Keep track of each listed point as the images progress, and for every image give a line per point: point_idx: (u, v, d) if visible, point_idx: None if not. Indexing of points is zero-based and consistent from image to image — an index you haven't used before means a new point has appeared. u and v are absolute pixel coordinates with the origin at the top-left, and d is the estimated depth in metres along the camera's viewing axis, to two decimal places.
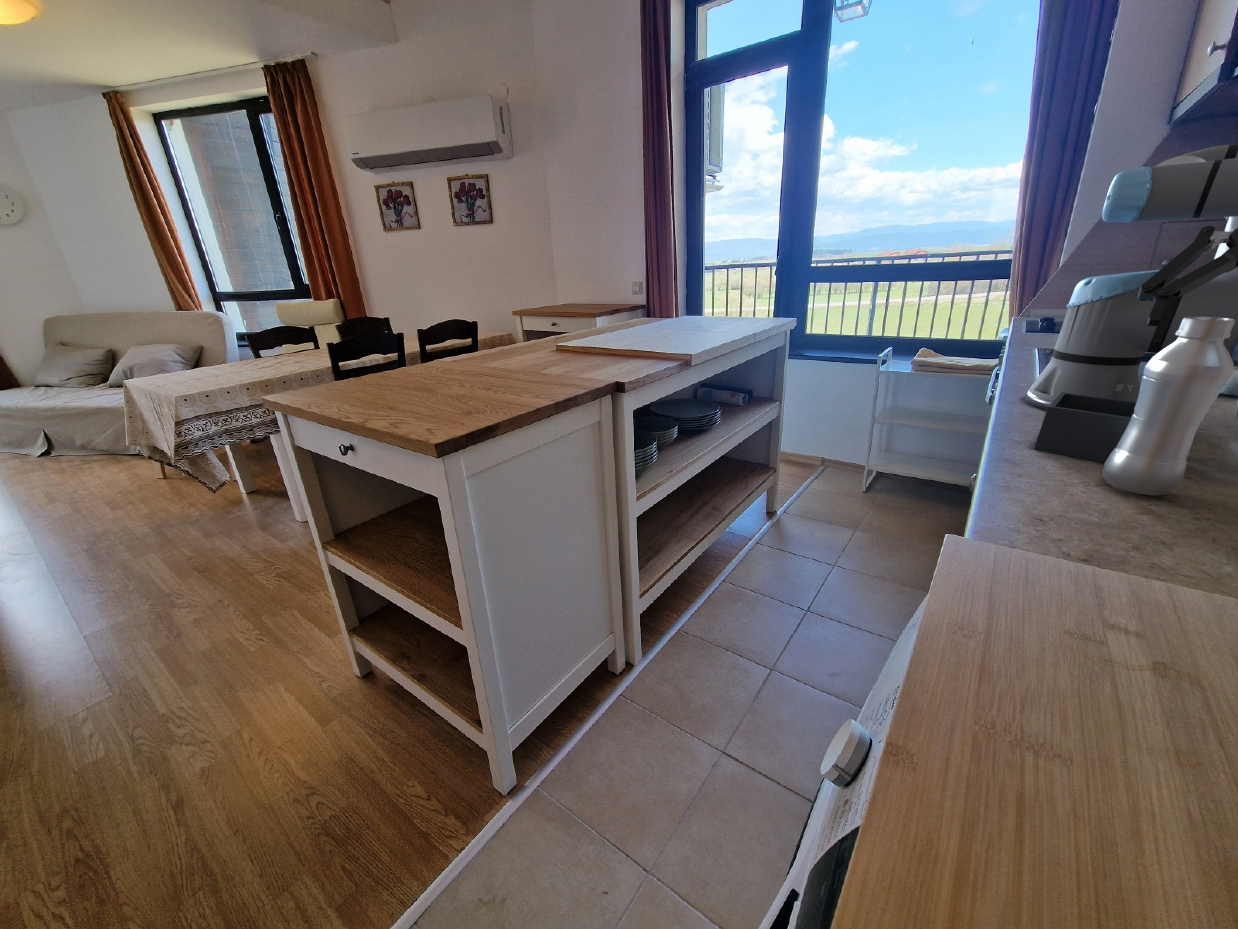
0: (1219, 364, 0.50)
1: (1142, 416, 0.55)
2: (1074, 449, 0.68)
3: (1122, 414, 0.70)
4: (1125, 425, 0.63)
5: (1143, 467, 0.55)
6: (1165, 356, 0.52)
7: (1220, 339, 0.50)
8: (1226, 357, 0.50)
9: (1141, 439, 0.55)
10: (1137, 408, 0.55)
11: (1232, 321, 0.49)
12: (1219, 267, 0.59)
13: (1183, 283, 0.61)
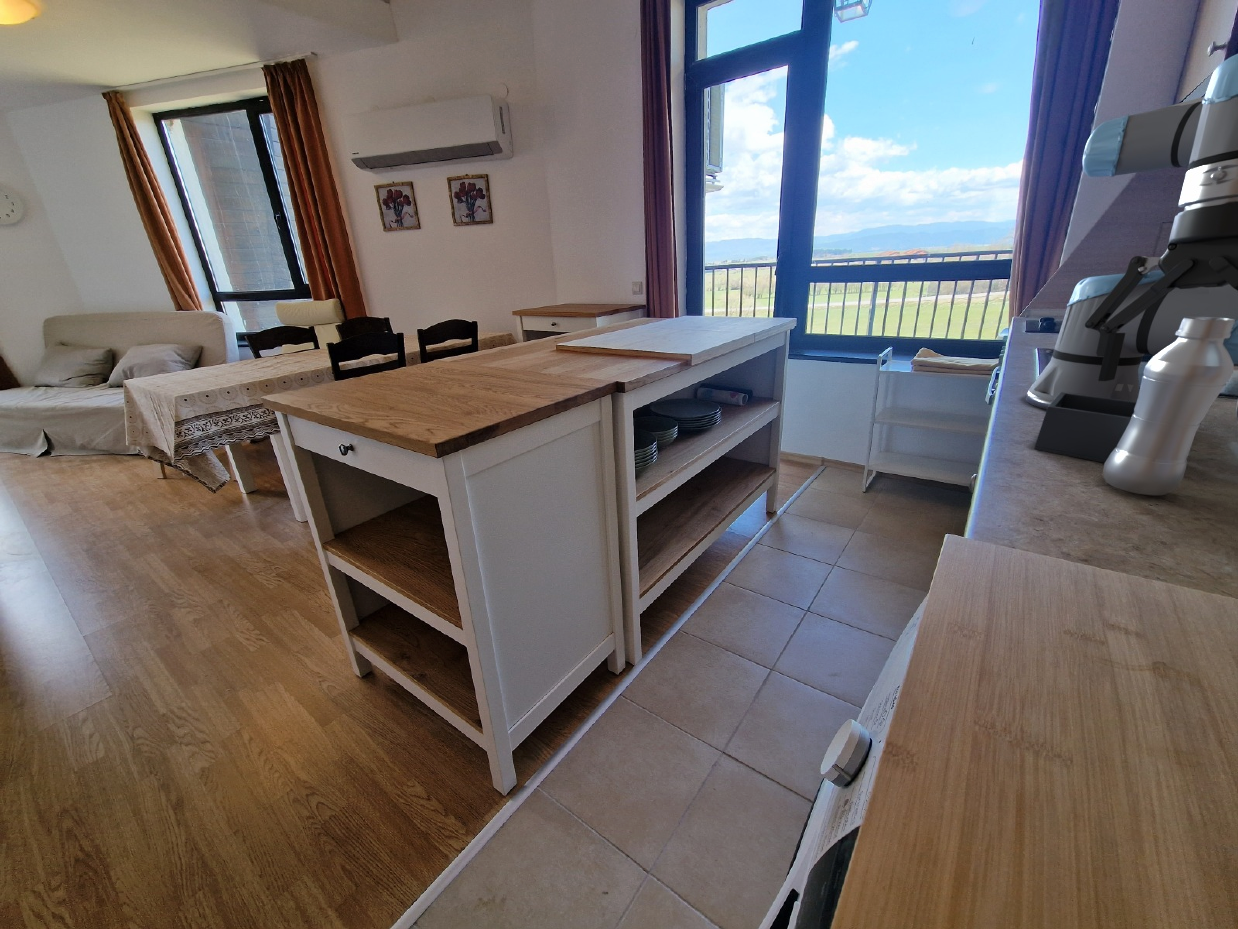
0: (1219, 364, 0.50)
1: (1142, 416, 0.55)
2: (1074, 449, 0.68)
3: (1122, 414, 0.70)
4: (1125, 425, 0.63)
5: (1143, 467, 0.55)
6: (1165, 356, 0.52)
7: (1220, 339, 0.50)
8: (1226, 357, 0.50)
9: (1141, 439, 0.55)
10: (1137, 408, 0.55)
11: (1232, 321, 0.49)
12: (1149, 301, 0.63)
13: (1119, 320, 0.66)
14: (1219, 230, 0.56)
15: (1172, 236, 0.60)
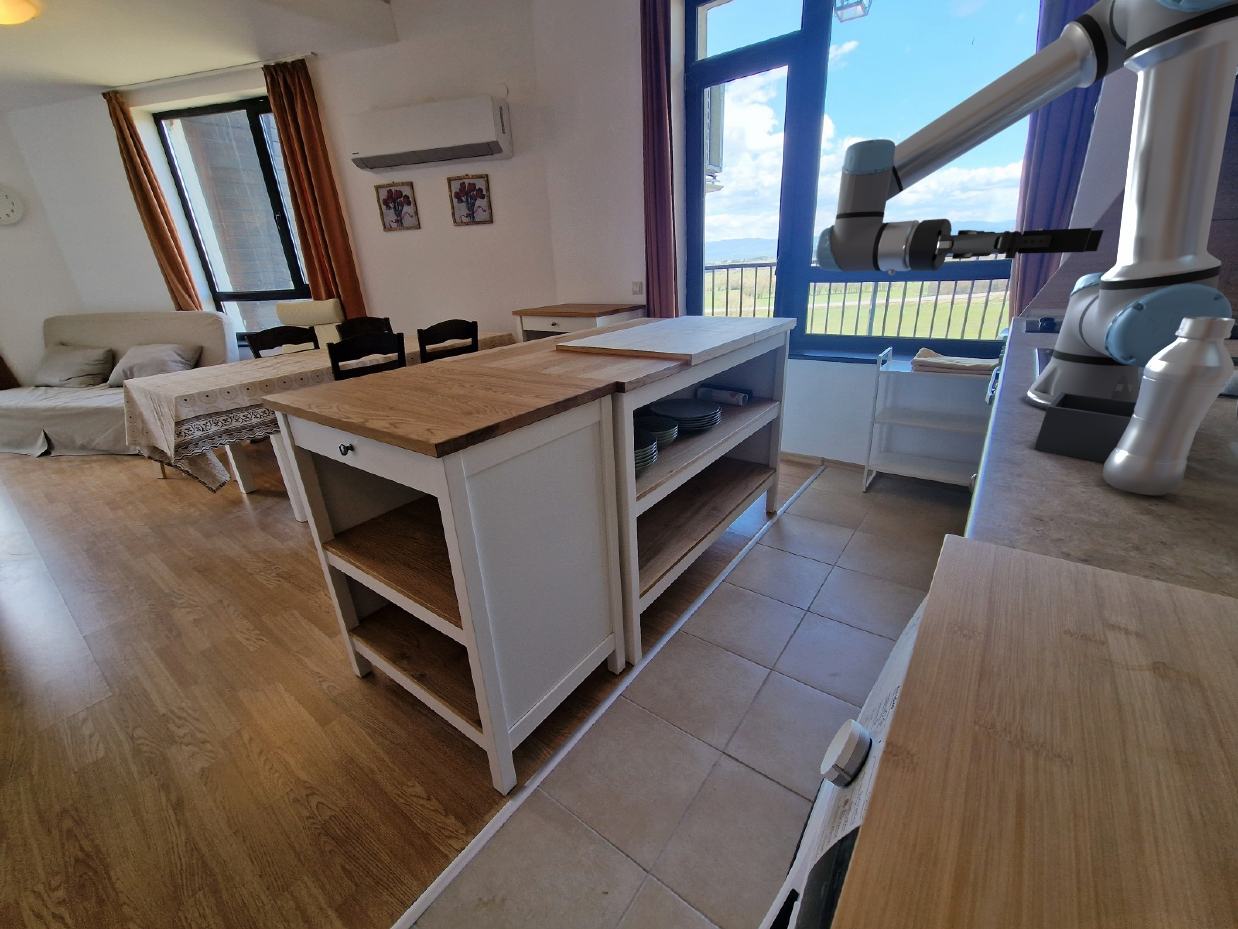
0: (1219, 364, 0.50)
1: (1142, 416, 0.55)
2: (1074, 449, 0.68)
3: (1122, 414, 0.70)
4: (1125, 425, 0.63)
5: (1143, 467, 0.55)
6: (1165, 356, 0.52)
7: (1220, 339, 0.50)
8: (1226, 357, 0.50)
9: (1141, 439, 0.55)
10: (1137, 408, 0.55)
11: (1232, 321, 0.49)
12: None
13: None
14: (929, 270, 0.76)
15: None
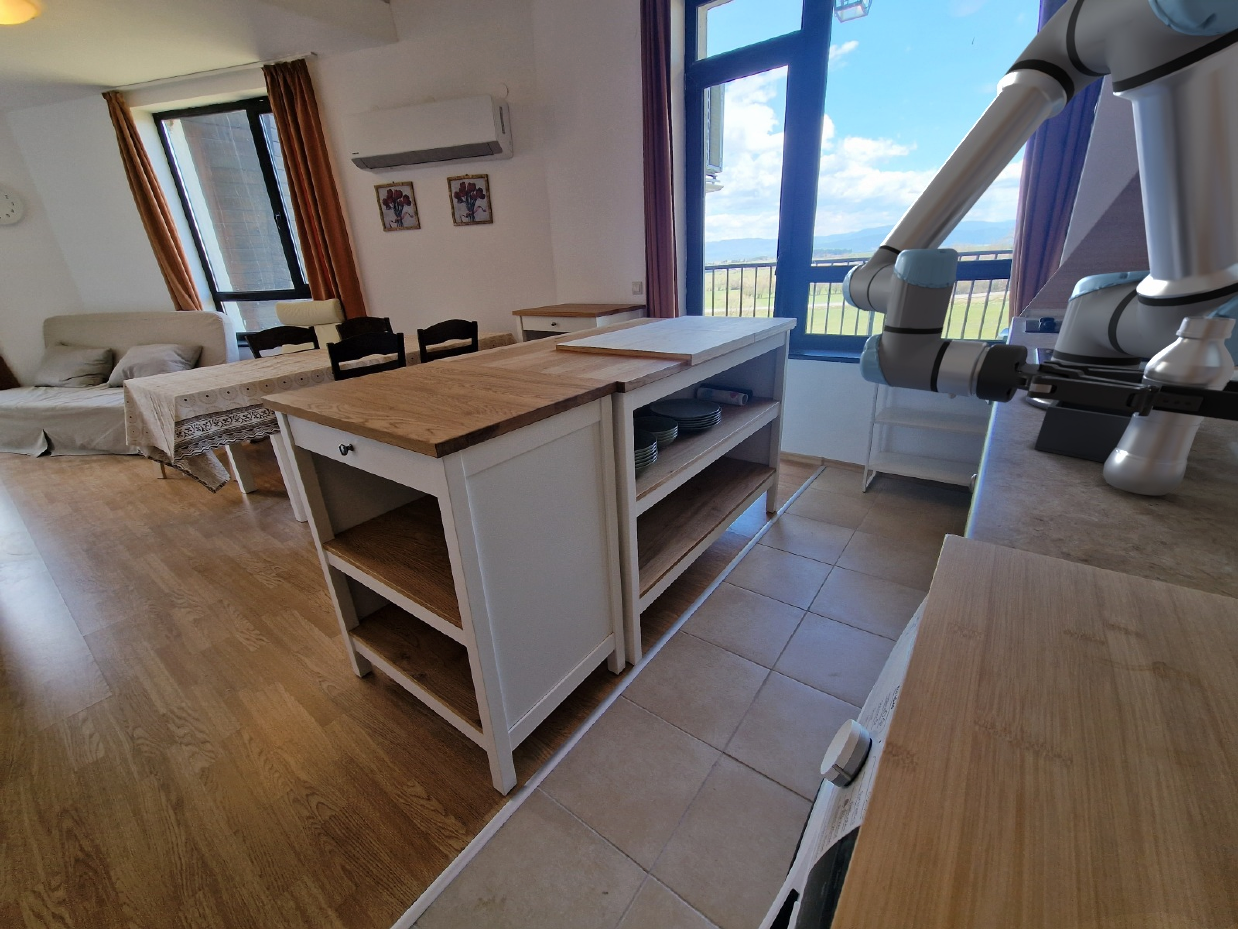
0: (1220, 364, 0.50)
1: (1142, 416, 0.55)
2: (1074, 449, 0.68)
3: (1122, 414, 0.70)
4: (1125, 425, 0.63)
5: (1143, 467, 0.55)
6: (1165, 356, 0.52)
7: (1220, 339, 0.50)
8: (1227, 357, 0.50)
9: (1141, 439, 0.55)
10: None
11: (1233, 321, 0.49)
12: None
13: None
14: None
15: None
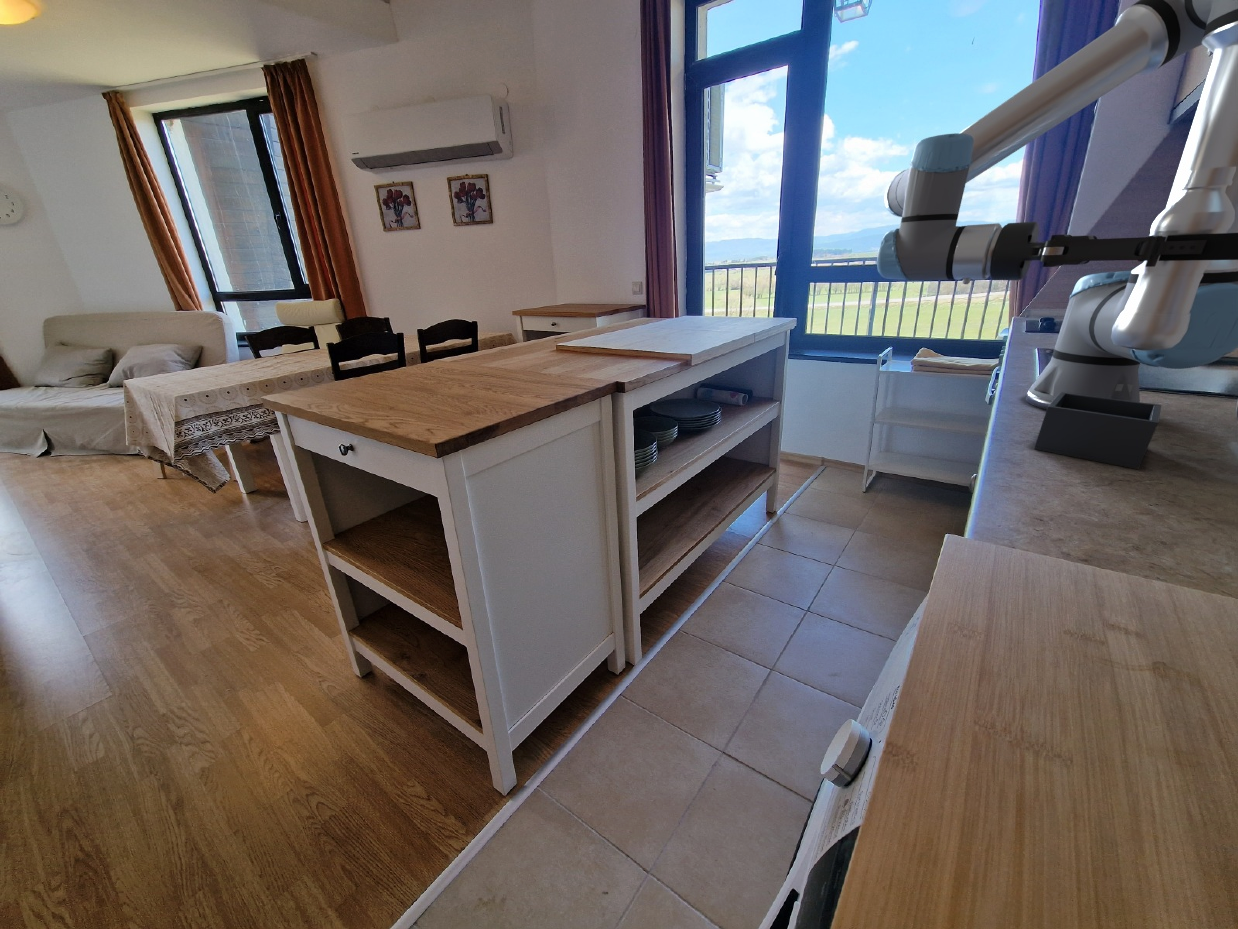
0: (1222, 210, 0.53)
1: (1149, 272, 0.58)
2: (1074, 449, 0.68)
3: (1122, 414, 0.70)
4: (1125, 425, 0.63)
5: (1149, 321, 0.59)
6: (1171, 209, 0.56)
7: (1222, 186, 0.53)
8: (1228, 203, 0.53)
9: (1147, 294, 0.58)
10: (1144, 266, 0.59)
11: (1234, 167, 0.53)
12: None
13: None
14: (1014, 279, 0.68)
15: None
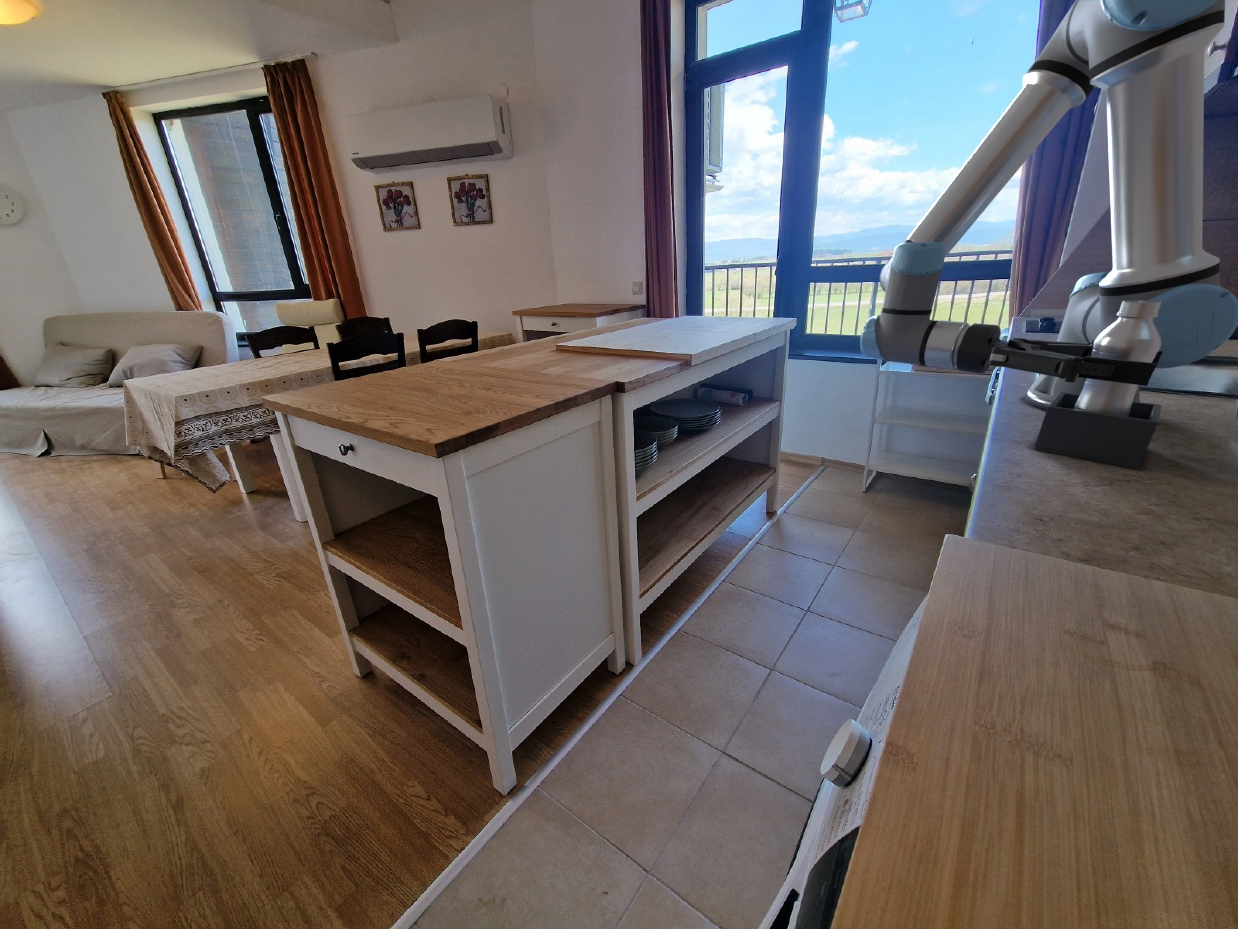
0: (1150, 338, 0.62)
1: (1092, 382, 0.67)
2: (1074, 449, 0.68)
3: None
4: (1125, 425, 0.63)
5: None
6: (1108, 332, 0.65)
7: (1150, 317, 0.62)
8: (1155, 332, 0.62)
9: (1091, 401, 0.67)
10: None
11: (1159, 303, 0.61)
12: None
13: None
14: (977, 372, 0.77)
15: None
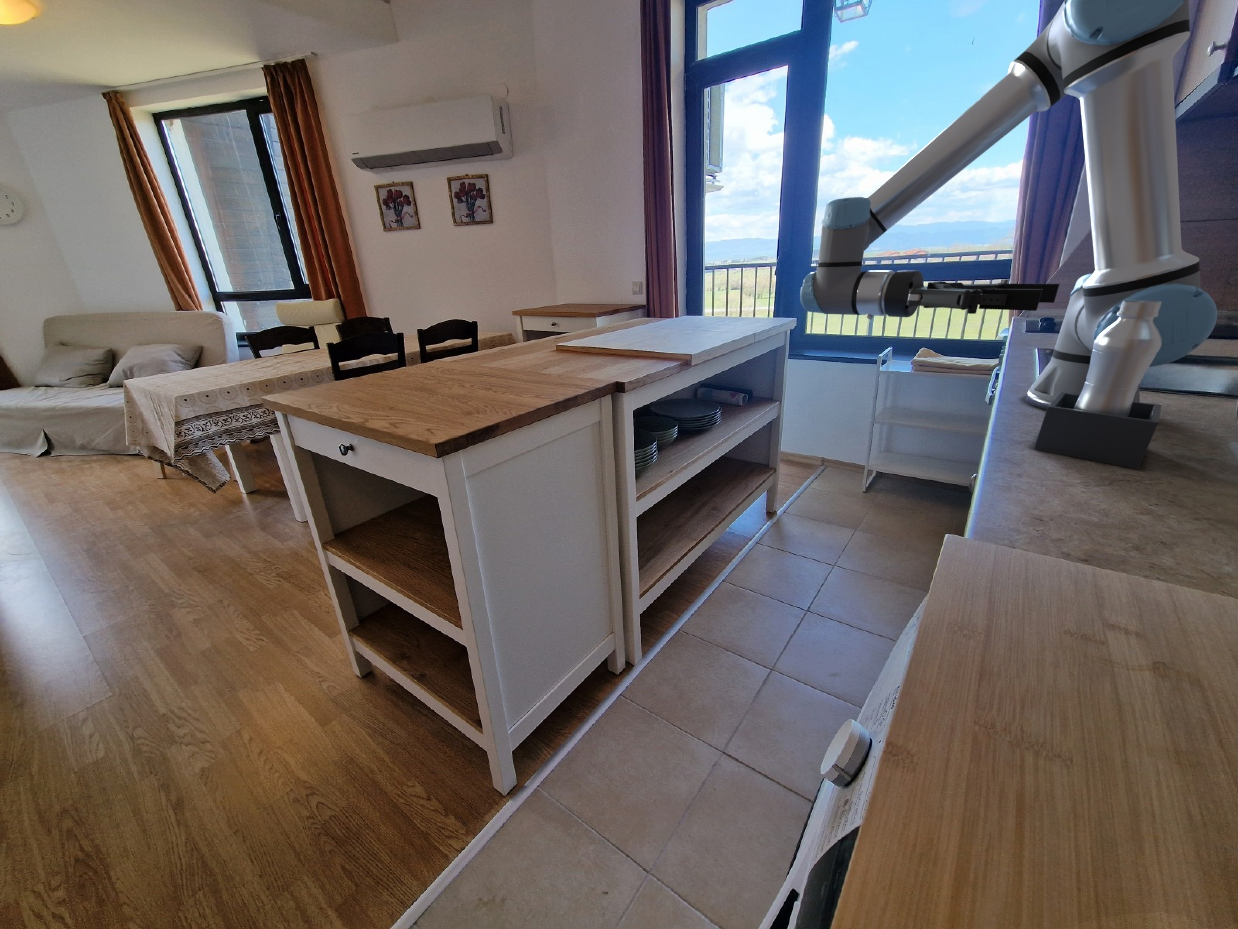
0: (1150, 338, 0.62)
1: (1092, 382, 0.67)
2: (1074, 449, 0.68)
3: None
4: (1125, 425, 0.63)
5: None
6: (1108, 332, 0.65)
7: (1150, 317, 0.62)
8: (1155, 332, 0.62)
9: (1091, 401, 0.67)
10: (1088, 376, 0.68)
11: (1159, 303, 0.61)
12: None
13: None
14: (903, 316, 0.82)
15: None
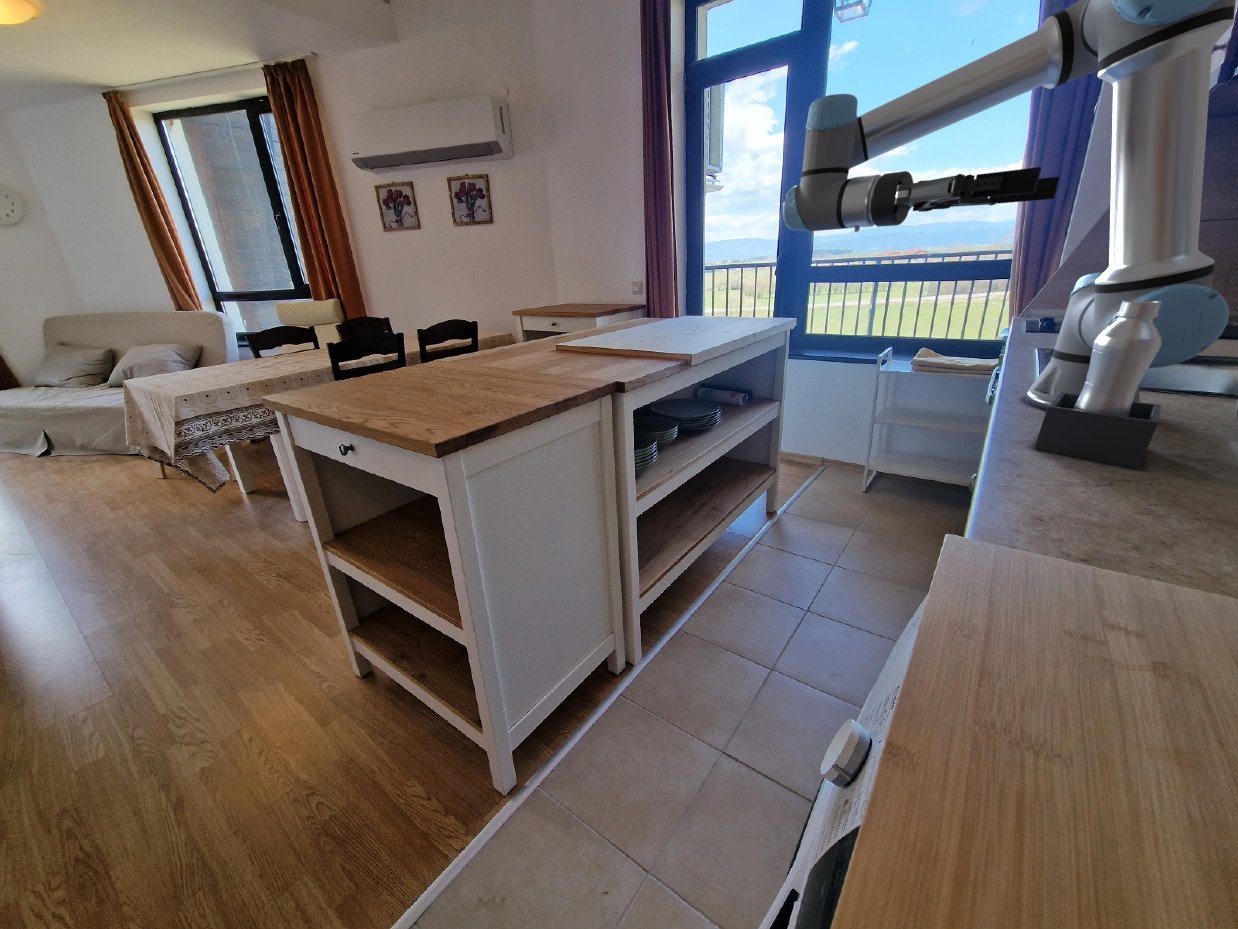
0: (1150, 338, 0.62)
1: (1092, 382, 0.67)
2: (1074, 449, 0.68)
3: None
4: (1125, 425, 0.63)
5: None
6: (1108, 332, 0.65)
7: (1150, 317, 0.62)
8: (1155, 332, 0.62)
9: (1091, 401, 0.67)
10: (1088, 376, 0.68)
11: (1159, 303, 0.61)
12: (960, 202, 0.73)
13: (982, 203, 0.73)
14: (891, 223, 0.76)
15: None
